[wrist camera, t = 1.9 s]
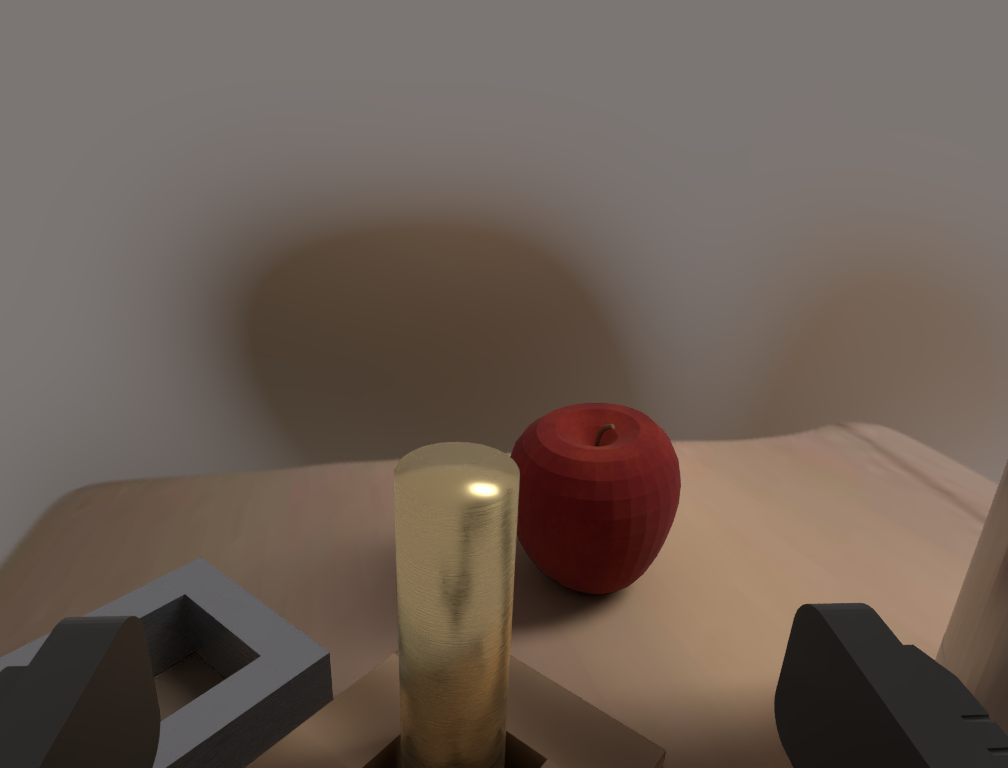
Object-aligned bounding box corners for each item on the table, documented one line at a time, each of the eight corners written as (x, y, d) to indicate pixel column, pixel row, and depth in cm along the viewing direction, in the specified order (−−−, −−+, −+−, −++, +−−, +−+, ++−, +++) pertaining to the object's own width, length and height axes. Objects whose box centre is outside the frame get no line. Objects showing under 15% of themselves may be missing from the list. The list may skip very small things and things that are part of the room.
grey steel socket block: (209, 611, 38) (200, 556, 37) (334, 712, 32) (329, 652, 31) (-7, 734, 31) (-29, 671, 29) (105, 892, 25) (86, 823, 24)
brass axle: (448, 780, 29) (452, 430, 23) (519, 835, 27) (544, 469, 21) (383, 847, 27) (367, 474, 20) (455, 914, 25) (462, 522, 18)
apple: (469, 573, 42) (472, 417, 38) (564, 506, 48) (576, 368, 44) (610, 655, 36) (631, 483, 32) (695, 566, 43) (721, 414, 39)
